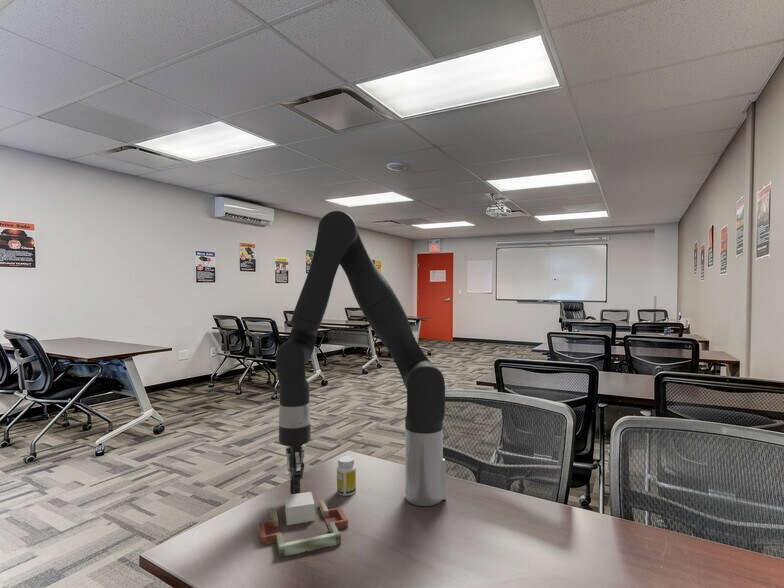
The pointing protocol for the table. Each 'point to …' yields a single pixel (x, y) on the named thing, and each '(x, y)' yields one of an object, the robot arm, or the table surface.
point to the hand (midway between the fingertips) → (295, 493)
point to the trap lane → (334, 521)
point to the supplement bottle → (346, 476)
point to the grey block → (299, 508)
